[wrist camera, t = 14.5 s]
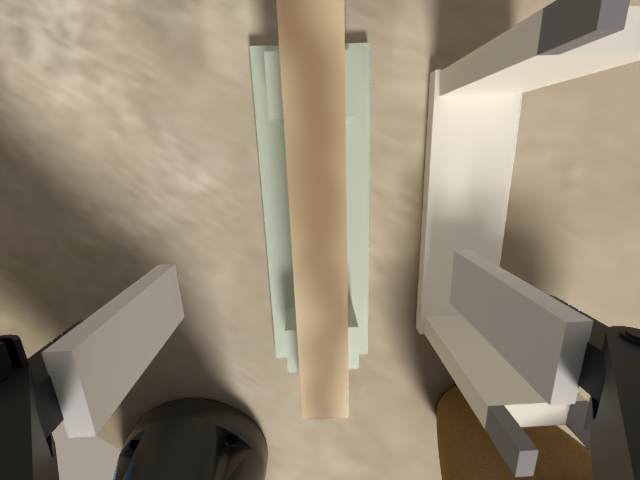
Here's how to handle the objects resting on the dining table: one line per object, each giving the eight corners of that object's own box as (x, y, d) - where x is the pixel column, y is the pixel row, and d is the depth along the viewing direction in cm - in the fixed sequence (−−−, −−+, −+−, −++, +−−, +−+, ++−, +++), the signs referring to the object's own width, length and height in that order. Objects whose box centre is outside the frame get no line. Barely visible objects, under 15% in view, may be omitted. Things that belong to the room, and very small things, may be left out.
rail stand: (415, 327, 31) (507, 478, 17) (430, 73, 25) (596, -35, 10) (484, 324, 31) (634, 471, 17) (516, 70, 25) (796, -39, 11)
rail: (303, 386, 27) (302, 420, 23) (281, 23, 19) (275, -4, 16) (343, 384, 27) (349, 417, 23) (338, 21, 19) (344, -6, 16)
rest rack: (277, 352, 31) (271, 388, 27) (251, 50, 24) (237, 24, 19) (365, 347, 32) (376, 382, 27) (367, 46, 24) (382, 20, 19)
